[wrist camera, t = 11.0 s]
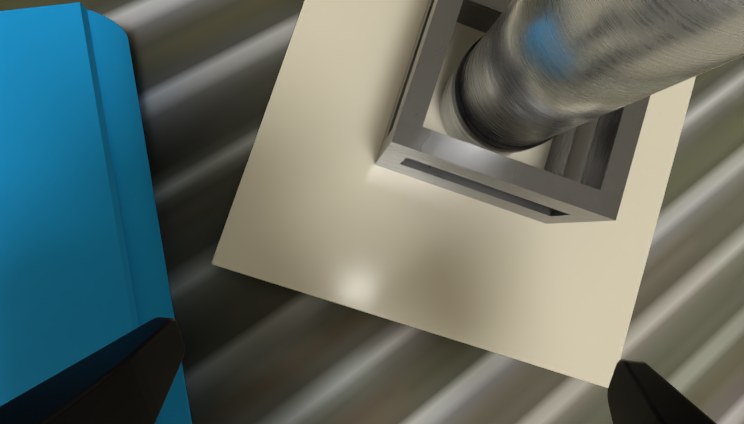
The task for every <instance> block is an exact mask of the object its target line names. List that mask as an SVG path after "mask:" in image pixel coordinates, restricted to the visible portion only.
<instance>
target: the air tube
mask: <svg viewBox="0 0 744 424" xmlns="http://www.w3.org/2000/svg"><path fill="white" fill-rule="evenodd" d="M742 56H744V0H512V1H511V3H510V4H509V5H508V6H507V8H506V9H505V10H504V11H503V13H502V14H501V15H500V16H499V18H498V19H497V20H496V21H495V22H494V24H493V25H492V26H491V27H490V29H489V30H488V31H487V32H486V34H485V35H484V36H483V37H482V38H480V39H479V40H478V41H477V42H475V43H474V44H473V46H472V47H471V48H470V49H469V50H468V52H467V53H466V54H465V55H464V57H463V58H462V59H461V61H460V62H459V64H458V66H457V68H456V70H455V72H454V73H453V74H452V76H451V77H450V78H449V79H448V81H447V82H446V84H445V86H444V88H443V90H442V94H441V97H440V107H439V110H440V118H441V122H442V125H443V128H444V130H445V132H446V134H447V135H448V136H450V137H453V138H455V139H458V140H461V141H464V142H467V143H469V144H472V145H475V146H478V147H481V148H483V149H486V150H489V151H492V152H495V153H497V154H500V155H503V156H508V155H511V154H513V153H516V152H522V151H526V150H529V149H531V148H534V147H536V146H539V145H541V144H543V143H545V142H547V141H549V140H550V139H552V138H553V137H555V136H556V135H558V134H560V133H563V132H565V131H567V130H570V129H572V128H574V127H577V126H579V125H581V124H584V123H586V122H589V121H591V120H593V119H596V118H598V117H600V116H603V115H605V114H607V113H610V112H612V111H614V110H617V109H619V108H622V107H624V106H626V105H629V104H631V103H633V102H636V101H638V100H640V99H643V98H645V97H647V96H650V95H652V94H654V93H657V92H659V91H662V90H664V89H666V88H669V87H671V86H673V85H676V84H678V83H680V82H683V81H685V80H687V79H690V78H692V77H695V76H697V75H699V74H702V73H704V72H706V71H709V70H711V69H713V68H716V67H718V66H720V65H723V64H725V63H727V62H730V61H732V60H735V59H737V58H739V57H742Z"/></svg>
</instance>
